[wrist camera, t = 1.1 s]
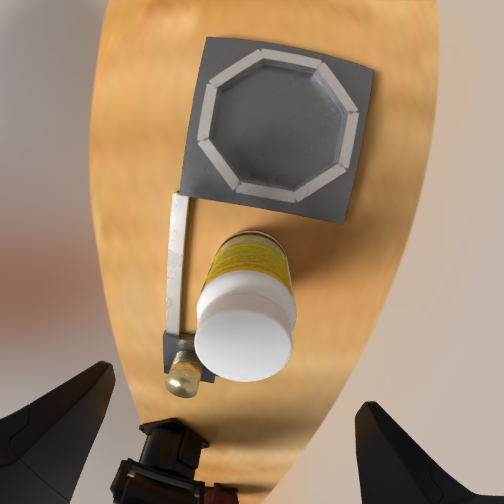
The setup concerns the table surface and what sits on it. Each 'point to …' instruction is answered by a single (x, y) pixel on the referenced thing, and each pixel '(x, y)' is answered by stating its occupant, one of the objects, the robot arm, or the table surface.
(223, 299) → the supplement bottle
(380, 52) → the table surface
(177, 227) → the grey handled tray
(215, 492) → the mate gourd
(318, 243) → the table surface
